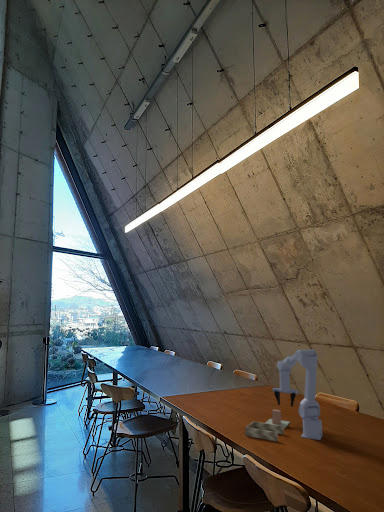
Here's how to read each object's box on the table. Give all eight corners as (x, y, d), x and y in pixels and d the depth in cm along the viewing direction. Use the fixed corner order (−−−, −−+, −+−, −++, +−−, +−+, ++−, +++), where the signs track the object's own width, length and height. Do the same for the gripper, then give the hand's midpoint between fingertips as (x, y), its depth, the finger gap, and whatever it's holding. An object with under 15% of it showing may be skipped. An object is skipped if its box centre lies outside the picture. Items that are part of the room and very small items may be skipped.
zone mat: (289, 422, 209) (289, 421, 209) (284, 428, 199) (284, 427, 199) (269, 419, 215) (269, 418, 215) (263, 424, 205) (263, 424, 205)
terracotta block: (281, 422, 207) (280, 410, 208) (279, 424, 204) (278, 411, 205) (274, 421, 209) (273, 409, 210) (272, 423, 206) (271, 410, 207)
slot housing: (283, 434, 190) (283, 426, 190) (277, 441, 179) (277, 432, 179) (253, 428, 198) (252, 421, 198) (245, 435, 187) (245, 427, 187)
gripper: (298, 381, 213) (299, 405, 211) (274, 379, 220) (275, 402, 218) (295, 383, 207) (296, 408, 205) (271, 381, 214) (271, 405, 212)
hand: (285, 405), depth 211 cm, fingers open, 7 cm apart
